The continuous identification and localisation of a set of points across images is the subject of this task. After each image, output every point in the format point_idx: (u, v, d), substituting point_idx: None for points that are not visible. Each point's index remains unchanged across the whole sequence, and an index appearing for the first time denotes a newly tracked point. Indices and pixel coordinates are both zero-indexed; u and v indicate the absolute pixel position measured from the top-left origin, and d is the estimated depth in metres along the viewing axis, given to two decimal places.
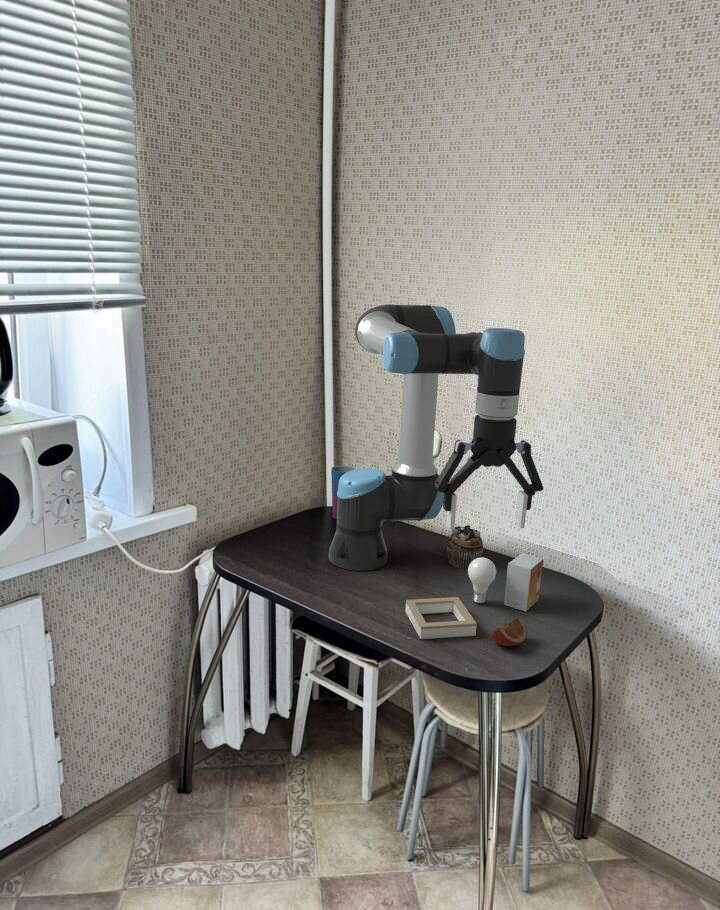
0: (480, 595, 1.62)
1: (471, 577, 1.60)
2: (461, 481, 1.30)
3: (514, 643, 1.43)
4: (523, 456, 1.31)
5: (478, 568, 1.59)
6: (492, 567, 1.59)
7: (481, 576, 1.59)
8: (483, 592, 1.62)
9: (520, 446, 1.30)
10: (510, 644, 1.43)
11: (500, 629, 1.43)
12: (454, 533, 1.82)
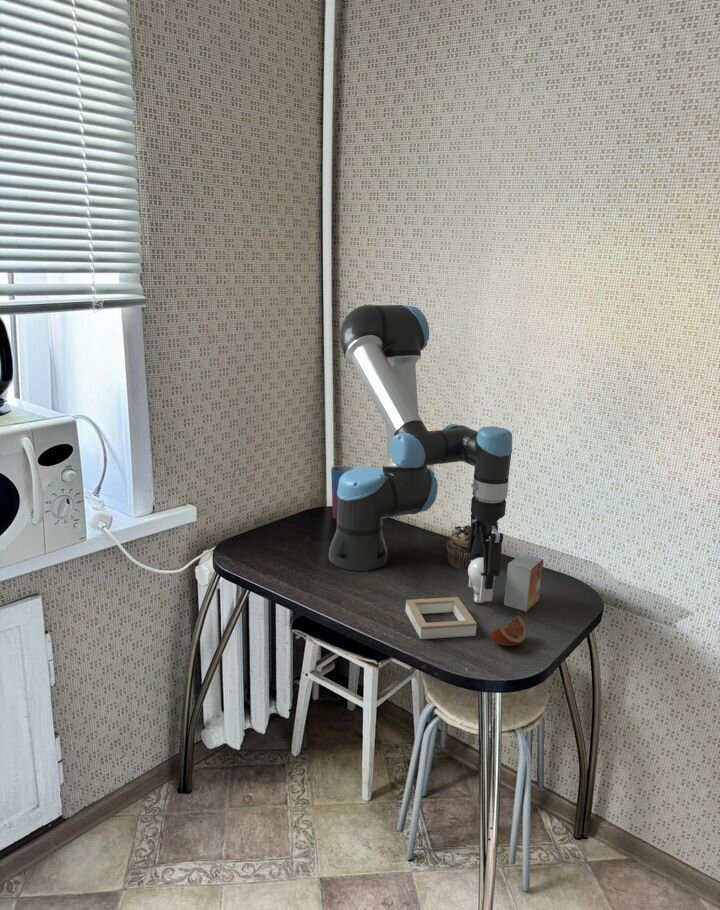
0: None
1: (471, 577, 1.60)
2: (473, 547, 1.63)
3: (514, 643, 1.43)
4: None
5: (478, 568, 1.59)
6: None
7: None
8: None
9: (493, 533, 1.54)
10: (510, 644, 1.43)
11: (500, 629, 1.43)
12: (454, 533, 1.82)
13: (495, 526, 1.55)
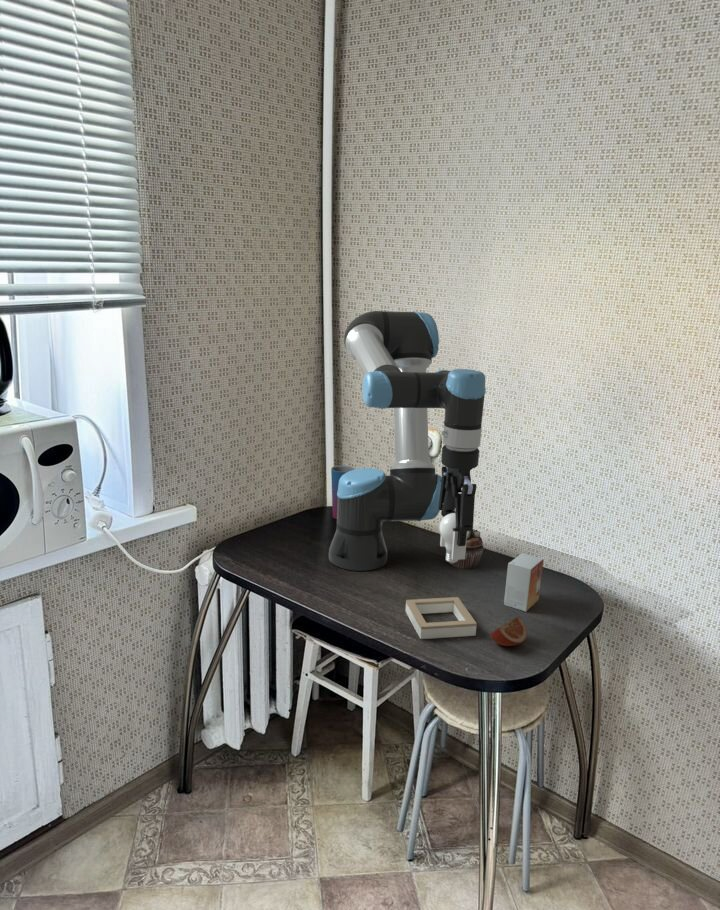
0: None
1: (443, 534, 1.48)
2: (444, 503, 1.51)
3: (514, 643, 1.43)
4: None
5: (450, 523, 1.47)
6: None
7: None
8: None
9: (465, 484, 1.42)
10: (510, 644, 1.43)
11: (500, 629, 1.43)
12: None
13: (468, 477, 1.43)
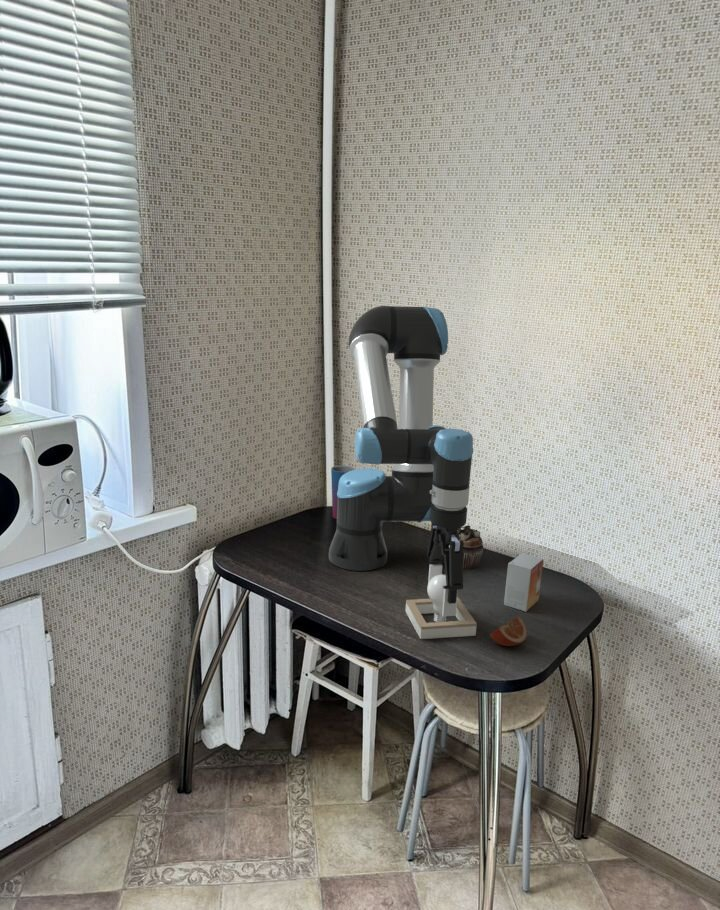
0: (440, 615, 1.52)
1: (430, 595, 1.50)
2: (432, 553, 1.54)
3: (514, 643, 1.43)
4: None
5: (437, 585, 1.49)
6: None
7: (441, 594, 1.49)
8: None
9: None
10: (510, 644, 1.43)
11: (500, 629, 1.43)
12: None
13: (455, 535, 1.44)
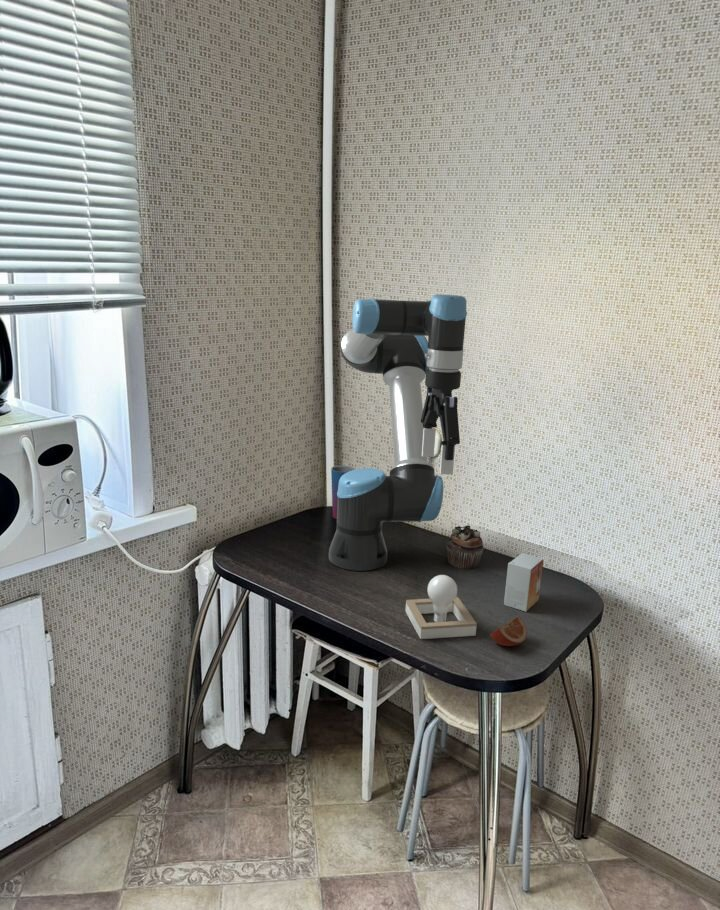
0: (440, 615, 1.52)
1: (430, 596, 1.50)
2: (426, 418, 1.60)
3: (514, 643, 1.43)
4: None
5: (437, 586, 1.49)
6: (452, 585, 1.50)
7: (441, 595, 1.49)
8: (443, 612, 1.52)
9: None
10: (510, 644, 1.43)
11: (500, 629, 1.43)
12: (454, 533, 1.82)
13: (449, 395, 1.50)
